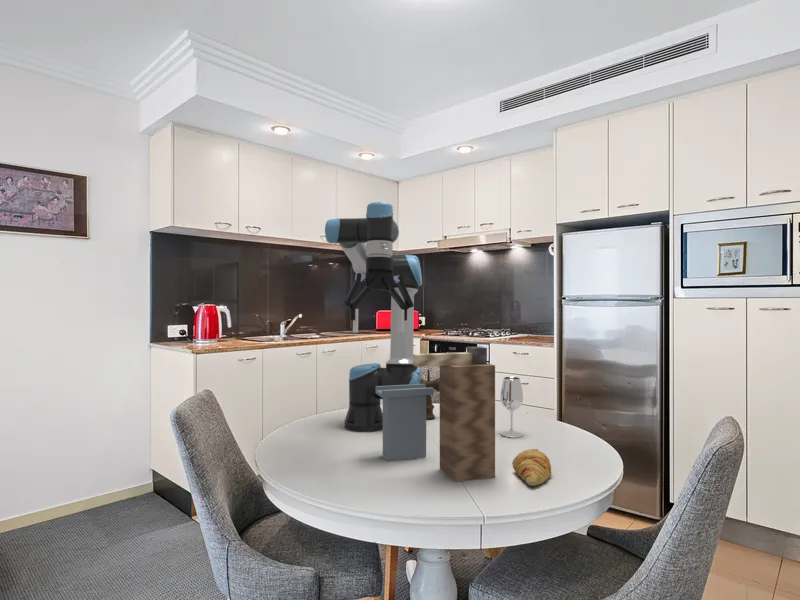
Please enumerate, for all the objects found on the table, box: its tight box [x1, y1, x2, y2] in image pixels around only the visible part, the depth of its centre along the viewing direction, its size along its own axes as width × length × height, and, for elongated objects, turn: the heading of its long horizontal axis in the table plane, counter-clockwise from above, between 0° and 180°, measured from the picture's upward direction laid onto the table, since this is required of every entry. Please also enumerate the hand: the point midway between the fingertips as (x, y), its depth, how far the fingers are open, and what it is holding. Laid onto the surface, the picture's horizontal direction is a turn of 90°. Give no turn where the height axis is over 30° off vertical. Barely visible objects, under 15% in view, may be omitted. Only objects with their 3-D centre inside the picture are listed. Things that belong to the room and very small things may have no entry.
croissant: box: [511, 448, 552, 487], centre depth 135 cm, size 21×10×8 cm, turn 166°
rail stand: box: [376, 384, 435, 462], centre depth 151 cm, size 16×8×21 cm, turn 107°
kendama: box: [420, 368, 440, 420], centre depth 198 cm, size 6×10×20 cm, turn 79°
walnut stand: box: [439, 362, 496, 483], centre depth 136 cm, size 12×10×30 cm
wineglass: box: [500, 376, 524, 439], centre depth 174 cm, size 8×8×20 cm
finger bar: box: [413, 346, 488, 368], centre depth 134 cm, size 20×4×4 cm, turn 107°
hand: (378, 332), depth 139 cm, fingers open, 13 cm apart
